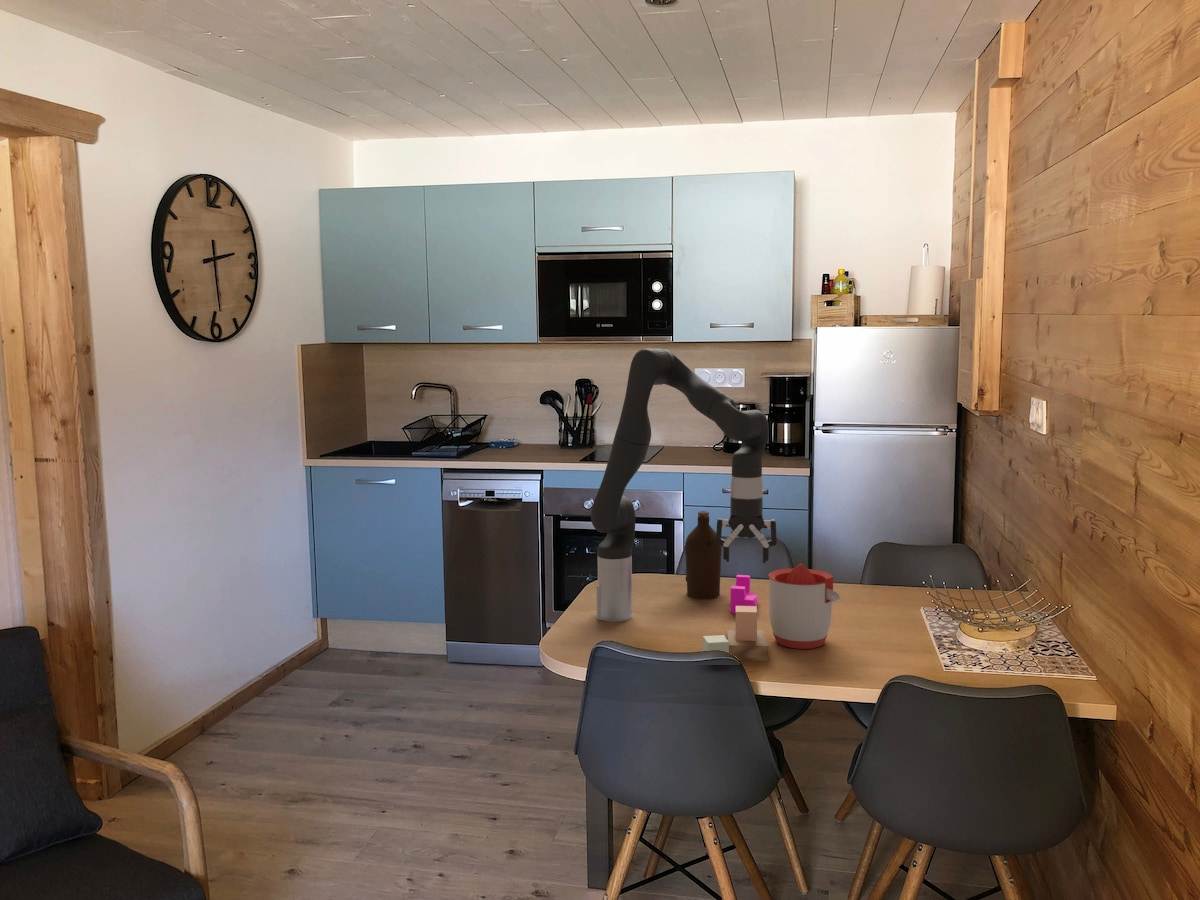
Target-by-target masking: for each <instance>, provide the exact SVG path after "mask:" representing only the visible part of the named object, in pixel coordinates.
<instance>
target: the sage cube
mask: <svg viewBox="0 0 1200 900" xmlns="http://www.w3.org/2000/svg"><path fill="white" fill-rule="evenodd" d="M710 650H720V651H725V652H728V653H729V641H728V640H727V639H726V635H724V634H720V635H719V634H718V635H703V636H702V652H703V651H710Z"/></svg>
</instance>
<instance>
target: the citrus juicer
mask: <svg viewBox="0 0 1200 900" xmlns="http://www.w3.org/2000/svg"><path fill="white" fill-rule="evenodd" d="M767 577H768V578H769V584H768V585H769V587H768V588H769V593H768V594H769V600H768V603H769V604H768V605H769V606H768V610H769V611H768V612H769V621H770V626H771V629H772V634H773V636H774V639H775V642H776V643H777V644H779V645H781V646H784V647H787V648H791V649H802V650H804V649H805V650H811V649H815V648H820V647H821V646H823V645H824V644H825V641H826V639H827V637H828V634H829V633H828V632H829V630H830V627H831V626H830V625H831V621H832V611H833V610H832V608H833V607H832V605H833V603H832V602H834V603H839V602H840V600H841V598H840V594H839V593H838V592H837V591H835V590H834V576H833V575H832V574H830V573H828V572H826V571H823V570H817V569H811V568H807V566H806V565H804V564H803V563H798V564H797V565H796V566H795V567H793V568H792V567H791V568H781V569H775V570H773V571H771V572H769V574H768V575H767Z"/></svg>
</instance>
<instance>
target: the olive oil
mask: <svg viewBox="0 0 1200 900" xmlns="http://www.w3.org/2000/svg"><path fill="white" fill-rule="evenodd" d="M684 542H685V543H684V550H685V551H684V552H685V565H686V566H685V570H686V572H685V573H686V574H685V582H686V594H687V597H689V598H691V599H695V600H712V599H717V598H719V597H720V593H721V592H720V591H721V570H722V569H721V567H722V566H721V565H722V553H723V552H722V551H723V549H722V548H723V546H722V545H720V544H717V543H716V531H715V529H713V527H712V526H711V524H710V512H709V511H706V510H705V511H704V510H701V511H700V510H699V511H698V512H697V525H696V526H695V527H694V528H693V529H692V530H691V531H690V533H688V534H687V537H686V539H685V541H684Z"/></svg>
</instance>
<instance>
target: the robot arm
mask: <svg viewBox="0 0 1200 900" xmlns="http://www.w3.org/2000/svg"><path fill="white" fill-rule="evenodd" d="M626 384H627V385H626V391H625V397H624V401H623V404H622V408H621V409H622V410H621V411H620V412H621V413H620V418H619V422H618V425H617V428H616V431H615V435H614V437H613V442H612V445H611V450H610V454H609V458H608V460H607V463H606V468H605V470H604V475H603V477H602V480H601V483H600V486H599V488H598V490H597V493H596V495H595V498H594V501H593V503H592V507H591V511H590V520H591V524H592V526H593V528H594V529H595V531H597V532H599V533H602V534H605V533H606V536H605V538H603V540H602V541H601V542H600V543H599V544H598V546H597V550H596V551H597V554H596V555H597V584H596V620H599V621H603V622H607V623H608V622H609V623H620V622H621V623H622V622H625V621H626V622H627V621H629V620H631V619H632V618H633V578H632V577H633V572H632V570H633V567H632V566H633V564H632V563H633V562H632V561H633V559H632V555H633V554H632V551H633V548H634V545H635V542H636V541H635V538H636V537H635V536H636V510H635V506H634V504H633V502H632V500H631V499H630V498H629V497H628V496H627V495H626V496H625V495H624V493H625V489H627V488H626V487H627V486H628V485H629V483H630V481H631V480H632V479H633V477H634V476H635V474H636V473H637V472H638V471H639V469H640V467H641V466H642V465H643V463H644V461H645V460H646V456H647V453H648V450H649V446H650V443H651V439H652V426H651V422H650V417H649V412H648V404H649V399H650V397H651V393H652V390H653V388H654V386H660V385H666V386H669V387H671V388H674V389H676V390H678V391H679V392H681V393H682V394H683V395H684V396H685V398H687V400H688V402H689V403H690V405H691V406H692V407H693V408H694V409H695V410H696V411H697V412H699V413H700V414H702V415H703V416H705V418H708V419H709V420H711V421H713V422H714V423H715V424H716V426H717V427H718V428H719V429H720V430H721V432H723V434H725V435H726V436H727V437H728V438H730V439H732V440H734V441H736V442H741V445H740V448H739V449H738V450H737V451H735V452H733V454H732V457H731V480H730V481H731V482H730V490H729V491H730V492H729V493H730V501H729V503H730V508H729V509H730V510H729V511H730V513H729V514H730V516H729V518H728V519H726V518H725V519H724V518H722V517H718V518H717V521H716V531H715V532H716V543H717V544H720V545H722V548H723V549H722V551H723V552H722V553H723V558H722V559H723V560H725V561H726V563H730V544H731V543H732V542H733V541H734V540H735V538H736V537H737V538H740V539H741V538H742V539H743V538H748V539H749V538H750V539H753V538H755V537H756V538H757V540H758V541H759V542H760V543H761V544H762V564H766V562H769V561H768V560H769V553H770V551H769V550H770V548H771V547H773V546H774V547H775V546H777V545H778V542H777V541H778V540H777V523H776V519H775V518H771V519H764V517H763V510H764V509H763V508H764V506H763V504H764V503H763V500H764V499H763V496H764V490H763V489H764V485H763V456H764V453H765V449H766V445H767V441H768V438H769V429H770V428H769V422H768V418H767V417H766V415H765V413H764V412H762V411H761V410H758V409H751V410H749V409H748V410H740V409H738V408H737V405H736V402H735V400H734V399H733V398H732V397H731V396H729V395H727V394H726V393H724V392H723V391H722V390H720V389H718V388H717V387H715V386H714V385H712V384H711V383H708V382H707V381H706V380H704V379H703V378H702V377H700V376H699V375H698V374H697V373H695V372H694V371H693V370H692V369H690V367H688V366H687V365H686V364H685V363H684V362H683V361H682V360H681V359H680V358H679V357H678V356H677V355H675V354H674V352H672V351H671V350H668V349H667V348H657V347H656V348H642V349H639V350H638V351H637V352H636V353H635V354H634V356H633V357H632V360H631V363H630V366H629V373H628V380H627V383H626ZM727 525H728V526H729V528H730V529H731V531H730V532H729V534H728V535H727V537H726V538H722V535H723V534H722V530H723V529H725V528H726V526H727ZM764 526H766V528H767V529H768V530H770V539H769V540H767V538H766V537H765V535H764V534H763V533H762V531H761V530H762V529H763V527H764Z"/></svg>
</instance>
